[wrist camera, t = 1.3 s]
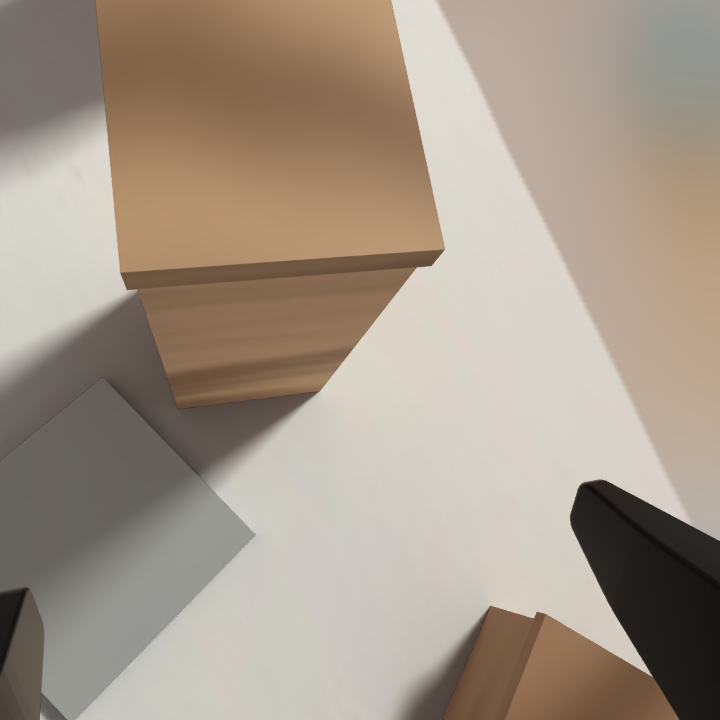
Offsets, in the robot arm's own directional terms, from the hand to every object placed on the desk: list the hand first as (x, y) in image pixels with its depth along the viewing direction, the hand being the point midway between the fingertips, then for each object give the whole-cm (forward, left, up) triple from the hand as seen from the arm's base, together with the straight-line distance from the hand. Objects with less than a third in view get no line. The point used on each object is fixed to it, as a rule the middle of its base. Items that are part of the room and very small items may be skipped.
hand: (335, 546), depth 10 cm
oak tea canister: (+6, -5, -14) cm, 16 cm away
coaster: (+4, +4, -14) cm, 15 cm away
